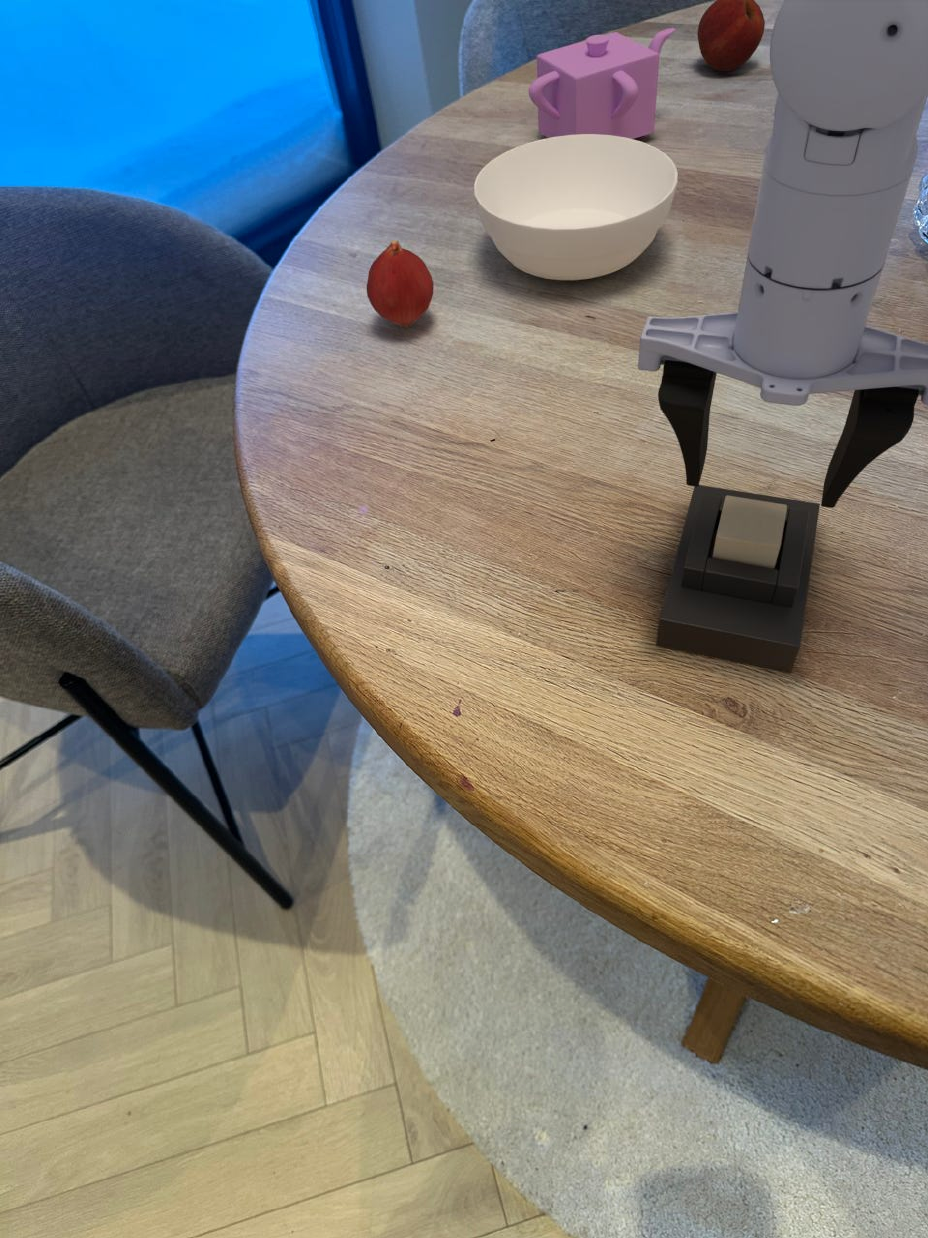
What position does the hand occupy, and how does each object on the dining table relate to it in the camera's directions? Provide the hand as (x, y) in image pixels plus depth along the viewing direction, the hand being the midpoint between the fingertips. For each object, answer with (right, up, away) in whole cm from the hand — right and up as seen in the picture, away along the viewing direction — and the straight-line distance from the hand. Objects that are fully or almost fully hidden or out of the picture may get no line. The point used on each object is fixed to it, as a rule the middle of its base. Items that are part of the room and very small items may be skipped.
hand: (760, 484), depth 48 cm
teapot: (-1, +47, +49) cm, 68 cm away
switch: (0, -3, +4) cm, 5 cm away
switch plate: (+1, -6, +7) cm, 9 cm away
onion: (-22, +19, +30) cm, 41 cm away
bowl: (-6, +27, +34) cm, 44 cm away
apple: (+16, +61, +58) cm, 86 cm away
